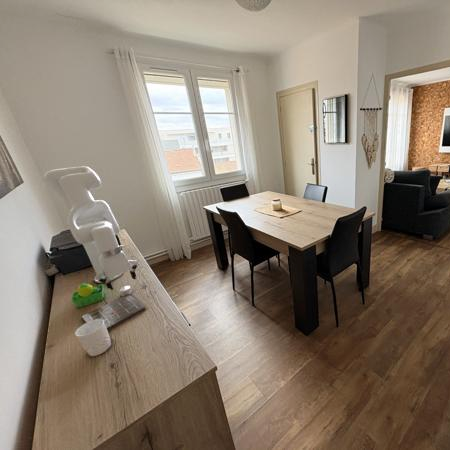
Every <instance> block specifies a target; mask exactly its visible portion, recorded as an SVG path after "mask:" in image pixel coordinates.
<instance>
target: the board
mask: <svg viewBox="0 0 450 450" xmlns="http://www.w3.org/2000/svg"><path fill="white" fill-rule="evenodd" d="M145 310H146V307H145V306H144V305H143V304H142V303H140V302H139V301H138V300H137V299H136V298H134V297H133V295H131V294H130V295H129V294H127V295H125V296H120V297H119V298H117V299H115V300H112V301H111V302H108V303H106V304H105V305H102V306H99V307H98V308H96V309H94V310H91V311H90V312H88V313H86V314H84V315H82V316H81V318H82V320H83V322H84V323H87V322H89V321H92V320H96V319H102V320H103V321H104V323H105V326H106V328H107V331H108V332H109V331H110V330H111V329H114V328H115V327H117V326H118V325H120V324H122V323H124V322H126V321H127V320H129V319H131V318H134V316H136V315H138V314H140V313H143V311H145Z"/></svg>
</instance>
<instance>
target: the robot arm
mask: <svg viewBox="0 0 450 450" xmlns="http://www.w3.org/2000/svg"><path fill="white" fill-rule="evenodd" d="M44 179H45V181H46V183H47V185H48V186H49V187H50V189H52V191H54V193H55V194H57V195H58V196H59V197H60V199H62V202H63V203H64V205H65V207H66V209H67V211H68V216H67V218H66V219H67V220H66V223H67V226H68V229H69V230H70V233H71V235H72V237H73V239H74V240H75V241H76V243H78V244H80V245H81V244H82V246H83V248H84V250H85V252H86V254H87V256H88V258H89V261H90V264H91V265H92V268H93V270H94V273H95V276H94V281H95V283H97V284H101V283H102V284H103V283H104V284H105V285H106V287H107V289H108V290H109V289H110V290H111V291H113V290H114V287H113V285H112V282H111V281H114V280H115V279H117V278H120V277H121V276H122V274H123V273H127V272H128V271H129V274H130V277H131V279H133V280H136V279H137V274H136V269H137V268H138V263H139V261H138V260H136V259H133V260H132V259H128V257H127V255H126V254H125V252H124V251H123V250H122V249H124V245H122V244H121V245H119V242H118V240H117V237H116V236H117V235H119V234H120V231H121V228H120V225H119V223H118V221H117V220H116V217H115V215H114V213H113V211H112V209H111V207H110V206H109V204H108V203H107V202H106V201H105V200H103V199H97V200H95V199H94V197H93V195H92V193H91V191H92V190H98V189H100V188H101V187H102V181H101V178H100V177H99V175H98V174H97V173H96V172H95V171H94V170H93V169H91V168H90V167H89V166H85V165H83V166H73V167H65V168H55V169H51V170H48V171H47V172H45V173H44ZM99 219H100V220H99ZM94 220H97V221H94ZM91 221H92V222H91ZM86 222H89V223H86ZM77 223H78V224H79V223H84V224H82V225H80V226H78V224H77ZM131 264H133V265H131Z"/></svg>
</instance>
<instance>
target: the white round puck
mask: <svg viewBox="0 0 450 450" xmlns="http://www.w3.org/2000/svg"><path fill="white" fill-rule="evenodd" d="M132 293H133V290H132V288H131V286H130V285H126V286H122V287H121V288H120V289H119V294H120V297H123V296H125V295H127V294H129V295H131V294H132Z"/></svg>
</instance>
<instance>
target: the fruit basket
mask: <svg viewBox="0 0 450 450" xmlns="http://www.w3.org/2000/svg"><path fill="white" fill-rule="evenodd" d="M104 293H105V292H104V284H99V285H95V286H93V285H92V284H89V283H88V284H87V283H81V284H79V285H78V287H77V291H76V292H73V293H72V296H71V299H70V301H71V302H72V303H73V304H74V305H75V306H76V307H77V308H82V307H84V306H88V305H91V304H95V303H98V302H100V301H103V300H104Z"/></svg>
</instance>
